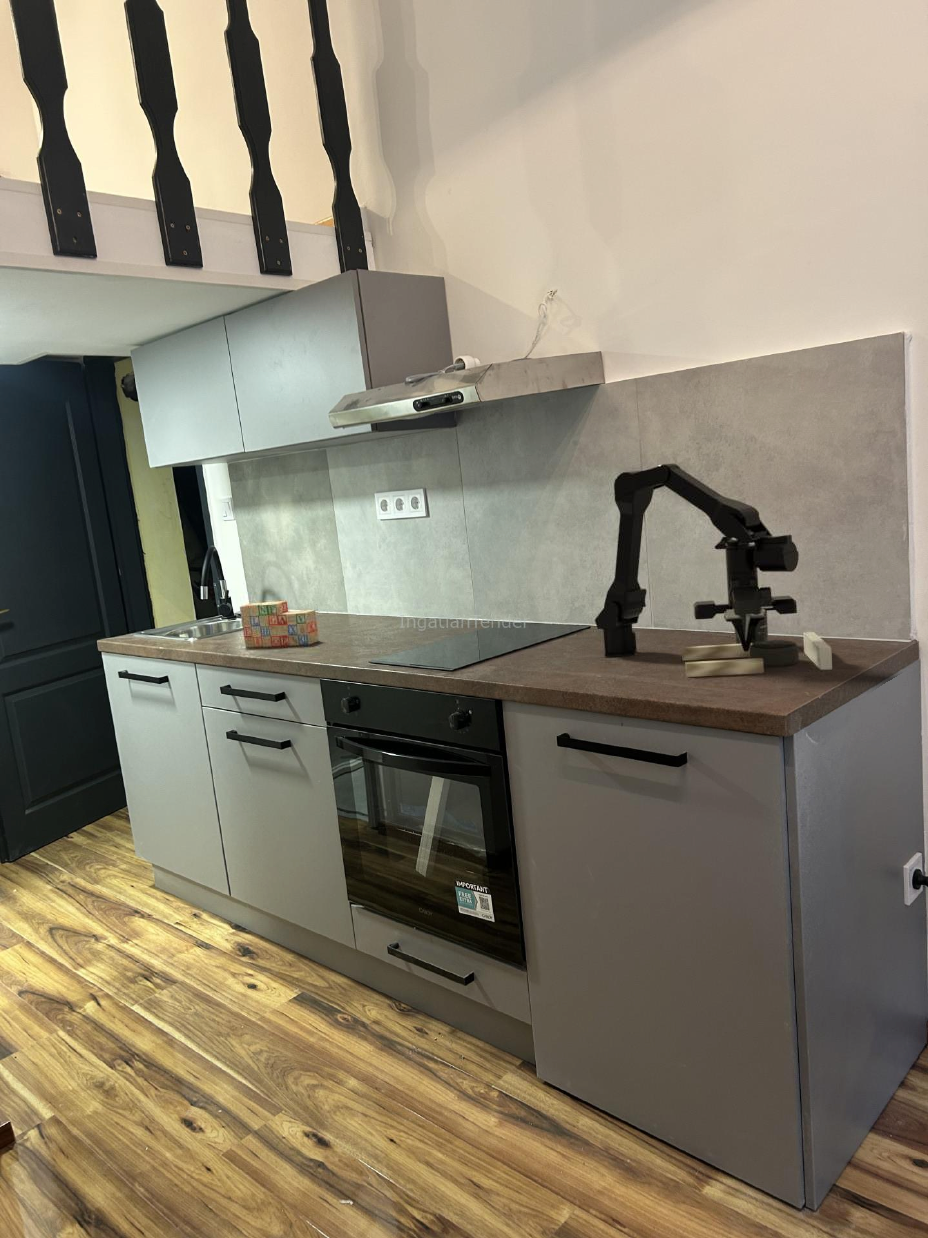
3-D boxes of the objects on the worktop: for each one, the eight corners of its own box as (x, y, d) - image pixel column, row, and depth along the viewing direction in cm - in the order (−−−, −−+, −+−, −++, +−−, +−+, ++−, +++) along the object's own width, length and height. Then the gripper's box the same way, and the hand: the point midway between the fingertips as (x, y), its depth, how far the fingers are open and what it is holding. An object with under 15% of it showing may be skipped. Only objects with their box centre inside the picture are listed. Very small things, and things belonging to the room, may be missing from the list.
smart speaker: (804, 660, 177) (803, 639, 176) (791, 669, 170) (790, 648, 169) (759, 658, 182) (758, 639, 181) (744, 667, 175) (743, 647, 174)
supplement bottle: (770, 648, 190) (767, 591, 188) (736, 650, 191) (733, 594, 190) (766, 642, 196) (763, 587, 195) (734, 644, 198) (730, 589, 196)
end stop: (820, 669, 166) (819, 648, 166) (804, 652, 183) (803, 632, 182) (832, 669, 166) (831, 647, 165) (814, 651, 182) (813, 631, 182)
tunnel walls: (686, 677, 171) (685, 664, 171) (682, 659, 188) (681, 647, 187) (763, 672, 168) (763, 659, 168) (752, 655, 185) (751, 643, 184)
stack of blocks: (319, 641, 261) (314, 599, 259) (308, 645, 255) (303, 602, 254) (256, 643, 269) (251, 602, 267) (244, 647, 263) (239, 605, 261)
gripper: (694, 580, 168) (699, 662, 171) (800, 572, 165) (803, 656, 167) (691, 573, 179) (695, 651, 181) (790, 566, 176) (793, 645, 178)
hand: (746, 651), depth 177 cm, fingers closed
